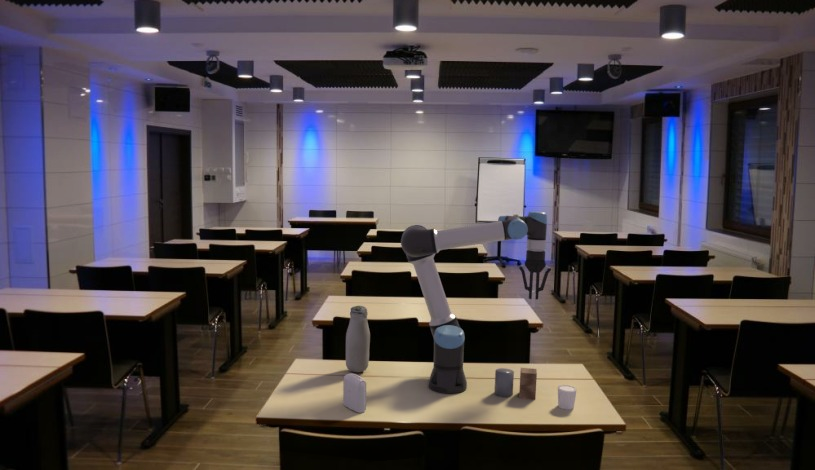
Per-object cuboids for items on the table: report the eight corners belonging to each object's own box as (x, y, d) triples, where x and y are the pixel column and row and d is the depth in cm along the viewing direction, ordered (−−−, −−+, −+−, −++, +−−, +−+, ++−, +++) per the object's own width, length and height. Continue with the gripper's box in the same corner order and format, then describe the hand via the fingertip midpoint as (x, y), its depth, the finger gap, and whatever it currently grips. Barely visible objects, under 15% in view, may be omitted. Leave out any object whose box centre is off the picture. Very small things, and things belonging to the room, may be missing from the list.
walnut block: (519, 398, 243) (520, 372, 242) (519, 392, 249) (520, 367, 248) (535, 399, 242) (536, 373, 241) (535, 393, 248) (536, 368, 247)
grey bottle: (344, 375, 263) (345, 308, 260) (346, 367, 273) (347, 303, 270) (368, 375, 263) (369, 309, 260) (369, 367, 273) (371, 303, 270)
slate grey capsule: (494, 396, 244) (495, 373, 243) (494, 389, 251) (495, 367, 250) (512, 397, 243) (513, 375, 242) (512, 391, 250) (513, 369, 249)
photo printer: (341, 405, 231) (341, 372, 230) (351, 402, 234) (351, 369, 232) (357, 414, 223) (358, 380, 222) (367, 411, 226) (368, 377, 224)
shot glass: (554, 407, 234) (555, 389, 234) (559, 401, 240) (560, 383, 240) (573, 411, 231) (574, 392, 230) (577, 405, 237) (578, 387, 236)
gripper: (552, 249, 261) (548, 306, 264) (519, 247, 263) (516, 304, 266) (552, 251, 254) (549, 310, 257) (519, 250, 256) (516, 308, 259)
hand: (533, 306), depth 261 cm, fingers closed
